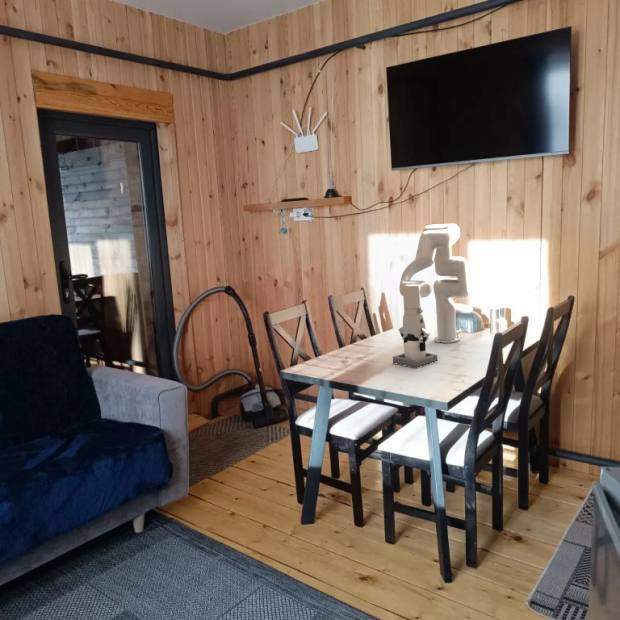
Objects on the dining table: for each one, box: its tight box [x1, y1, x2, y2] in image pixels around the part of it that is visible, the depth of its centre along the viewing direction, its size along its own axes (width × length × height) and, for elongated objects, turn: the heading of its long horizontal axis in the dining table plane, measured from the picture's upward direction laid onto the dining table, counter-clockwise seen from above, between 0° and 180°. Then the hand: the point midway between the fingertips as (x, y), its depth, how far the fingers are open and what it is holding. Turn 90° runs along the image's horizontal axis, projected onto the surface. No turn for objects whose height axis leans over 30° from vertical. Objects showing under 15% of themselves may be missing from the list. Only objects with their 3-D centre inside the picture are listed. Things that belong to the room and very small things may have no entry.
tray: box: [392, 352, 439, 369], centre depth 262 cm, size 14×14×3 cm
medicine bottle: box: [403, 334, 427, 361], centre depth 261 cm, size 7×7×12 cm
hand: (414, 349), depth 261 cm, fingers closed on medicine bottle, 8 cm apart
